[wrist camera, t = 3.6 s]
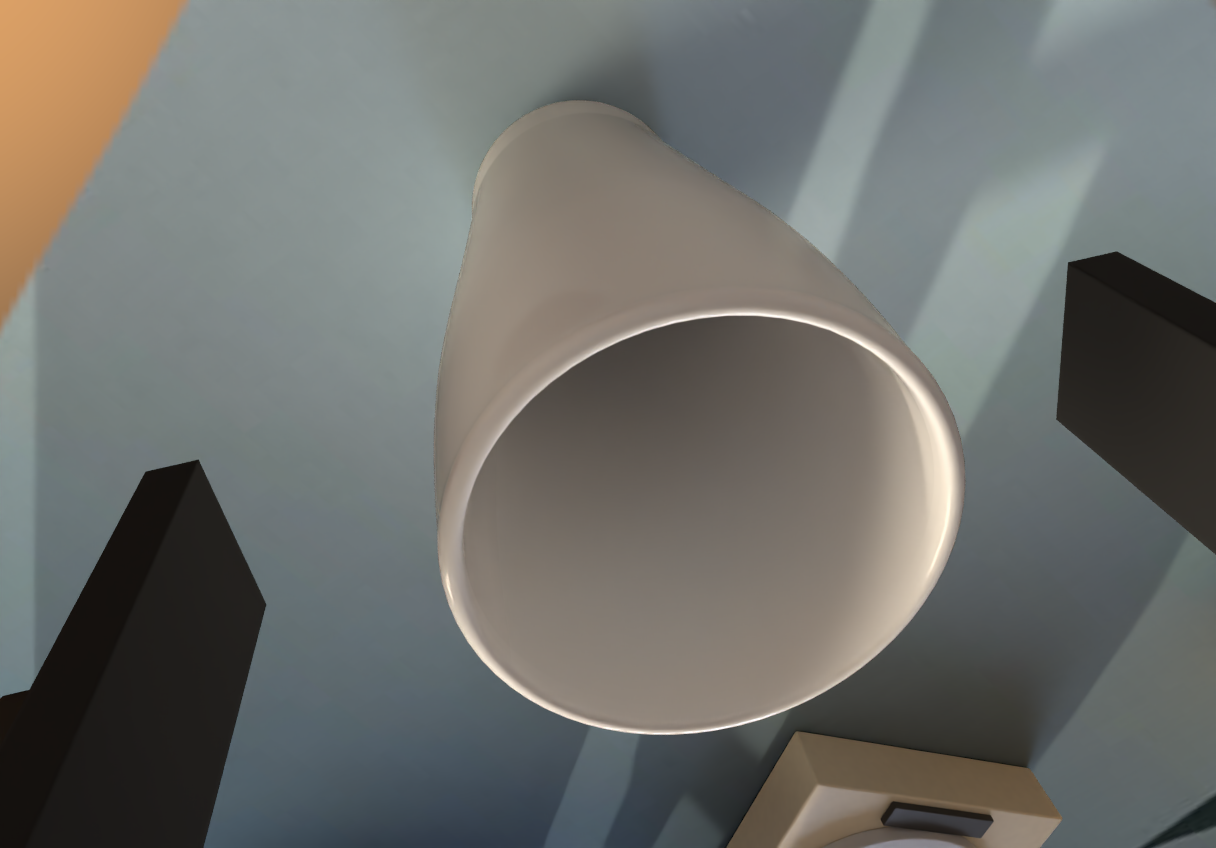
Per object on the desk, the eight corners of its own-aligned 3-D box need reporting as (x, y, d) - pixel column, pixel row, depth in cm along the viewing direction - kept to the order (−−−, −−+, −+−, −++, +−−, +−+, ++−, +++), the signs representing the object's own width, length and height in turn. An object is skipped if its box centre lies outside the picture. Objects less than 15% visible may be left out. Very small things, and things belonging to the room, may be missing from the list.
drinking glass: (428, 304, 25) (400, 735, 12) (461, 37, 22) (472, 239, 9) (669, 337, 27) (871, 754, 14) (732, 92, 24) (1067, 331, 11)
